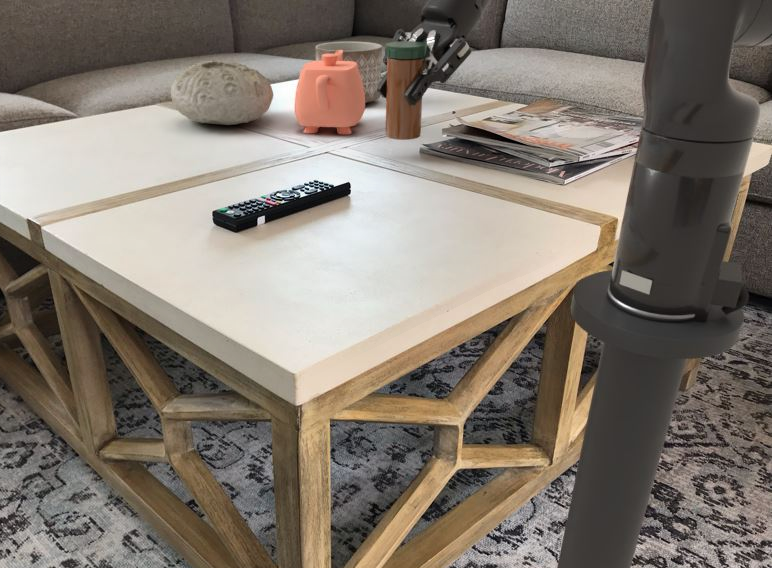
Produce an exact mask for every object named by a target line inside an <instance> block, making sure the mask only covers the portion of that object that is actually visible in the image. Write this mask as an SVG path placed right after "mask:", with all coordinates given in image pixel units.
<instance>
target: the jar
mask: <svg viewBox="0 0 772 568" xmlns="http://www.w3.org/2000/svg"><path fill="white" fill-rule="evenodd" d="M423 62H424V58H423V57H422V58H415V59H396V58H389V57H387V66H386V72H387V91H386V98H385V133H384V134H385V137H386V138H388V139H390V140H391V139H392V140H397V141H398V140H399V141H409V140H415V139H418V138H420V137H421V136H422V113H423V96H424V95H423V96H422V98H421V99H420V100H419V101H418V102H417V103H416V105H410V104H409V103H408V102H407V101H406V99H405V98H404V95H405V93H406V91H407V90H408V88H409V87H410V85H411V84H412V82H413V81H414V79H415V78H416V76H417V75H418V74H419V75H421V69H422V65H423Z"/></svg>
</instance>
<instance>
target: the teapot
mask: <svg viewBox="0 0 772 568" xmlns="http://www.w3.org/2000/svg"><path fill="white" fill-rule="evenodd" d="M342 56H343V51H342V50H337V51H336V52H335V54H323V55H322V59H323V61H316V60H312V61H311V60H310V61H309V62H306V63H305V64H304V65H302V68H301V70H300V74H299V77H298V81H297V84H296V89H295V94H294V95H295V97H294V115H295V118H296V120H297V122H298V124H299V125H300V126H303V127H304V126H305V128H304V129H303V133H304V134H316V133H318V131H319V128H320V127H321V128H336V131H337V134H339V135H351V134H352V133H353V132H352V129H351V127H354V126H357V124H358V123H359V122H360V121H361V119H362V118H363V115H364V113H365V109H366V103H365V94H364V88H363V84H362V80H361V76H360V72H359V69H358V66H357V63H356V62H353V61H342Z"/></svg>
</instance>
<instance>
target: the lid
mask: <svg viewBox="0 0 772 568" xmlns="http://www.w3.org/2000/svg"><path fill="white" fill-rule="evenodd" d="M384 48H385V49H384V56H386V57H389V58H396V59H415V58H422V57H425V56H426V52H427V44H426V43H423V42H415V41H398V42H392V41H391V42H387V43H385V47H384Z"/></svg>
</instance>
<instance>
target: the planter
mask: <svg viewBox="0 0 772 568" xmlns="http://www.w3.org/2000/svg"><path fill="white" fill-rule="evenodd" d="M314 49H315V61H323V59H322V55H323V54H335V52H336V51H337V50H342V51H343V56H342V61H353V62H356V63H357V66H358V69H359V72H360V76H361V80H362V84H363V88H364V94H365V104H367V103H371V102H374V101H377V100H379V99H380V98H381V95H380V94H379V93H378V92H377V87H378V84H379V83H380V82H381V80H382V61H383V58H382V55H383V46H382V45H381V44H380V43H375V42H368V41H332V42H331V41H330V42H323V43H319V44H316V45H315V48H314Z"/></svg>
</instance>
